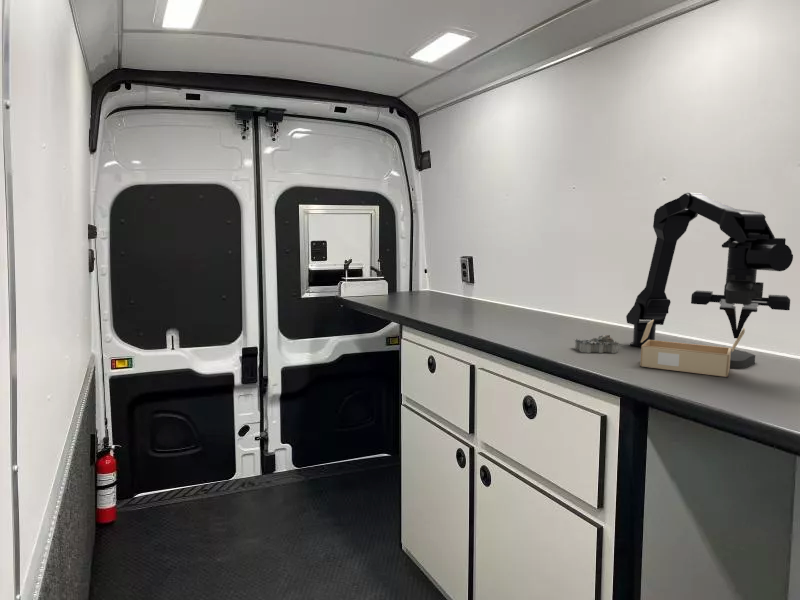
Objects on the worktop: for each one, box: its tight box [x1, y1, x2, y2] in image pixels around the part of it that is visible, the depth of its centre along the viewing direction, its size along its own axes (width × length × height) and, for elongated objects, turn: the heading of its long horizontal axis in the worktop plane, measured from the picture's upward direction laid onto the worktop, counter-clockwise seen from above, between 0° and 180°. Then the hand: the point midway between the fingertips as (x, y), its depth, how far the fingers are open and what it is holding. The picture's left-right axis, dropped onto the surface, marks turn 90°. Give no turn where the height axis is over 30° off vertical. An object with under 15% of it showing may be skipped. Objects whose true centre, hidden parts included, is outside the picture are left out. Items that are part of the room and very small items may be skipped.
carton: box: [639, 339, 732, 378], centre depth 134 cm, size 11×18×5 cm, turn 58°
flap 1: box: [641, 319, 654, 342], centre depth 138 cm, size 8×1×5 cm, turn 148°
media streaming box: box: [730, 348, 756, 370], centre depth 143 cm, size 15×15×3 cm
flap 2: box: [731, 327, 746, 352], centre depth 128 cm, size 8×1×5 cm, turn 148°
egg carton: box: [573, 334, 620, 354], centre depth 154 cm, size 11×8×4 cm
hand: (736, 338), depth 128 cm, fingers closed
